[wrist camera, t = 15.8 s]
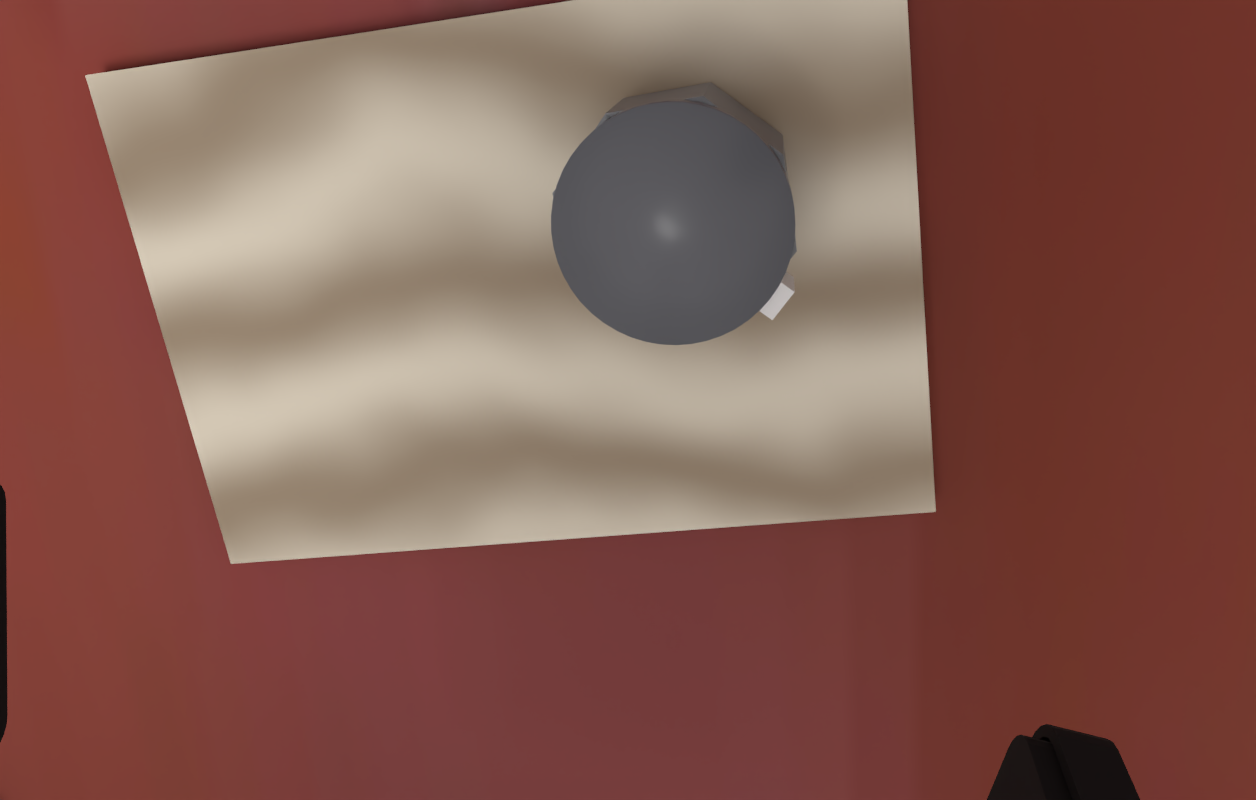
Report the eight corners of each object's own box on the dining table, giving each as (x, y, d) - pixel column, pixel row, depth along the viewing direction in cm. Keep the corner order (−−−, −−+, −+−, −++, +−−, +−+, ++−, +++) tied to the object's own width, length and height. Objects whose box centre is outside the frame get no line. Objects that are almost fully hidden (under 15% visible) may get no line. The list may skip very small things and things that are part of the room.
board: (931, 496, 39) (957, 583, 34) (244, 548, 44) (167, 633, 38) (900, -51, 33) (925, -55, 28) (105, 72, 37) (-11, 90, 32)
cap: (658, 39, 33) (640, 49, 29) (849, 179, 34) (860, 210, 29) (539, 219, 35) (505, 254, 31) (719, 346, 36) (712, 398, 32)
